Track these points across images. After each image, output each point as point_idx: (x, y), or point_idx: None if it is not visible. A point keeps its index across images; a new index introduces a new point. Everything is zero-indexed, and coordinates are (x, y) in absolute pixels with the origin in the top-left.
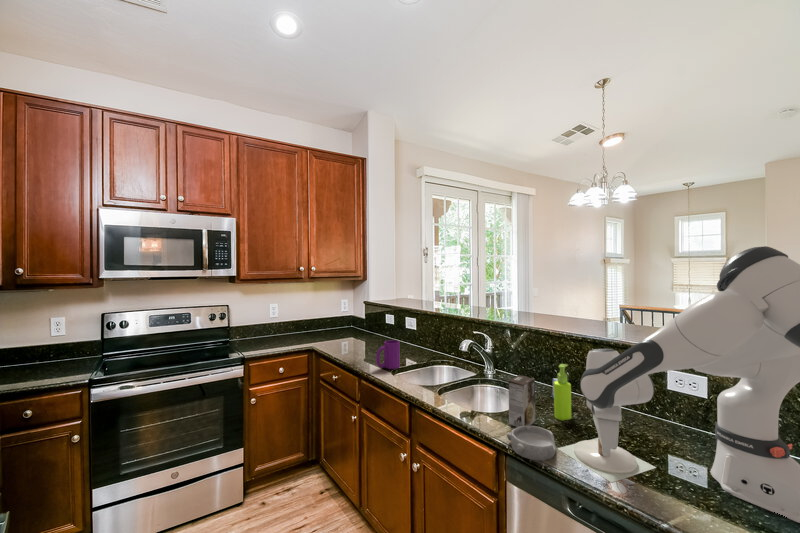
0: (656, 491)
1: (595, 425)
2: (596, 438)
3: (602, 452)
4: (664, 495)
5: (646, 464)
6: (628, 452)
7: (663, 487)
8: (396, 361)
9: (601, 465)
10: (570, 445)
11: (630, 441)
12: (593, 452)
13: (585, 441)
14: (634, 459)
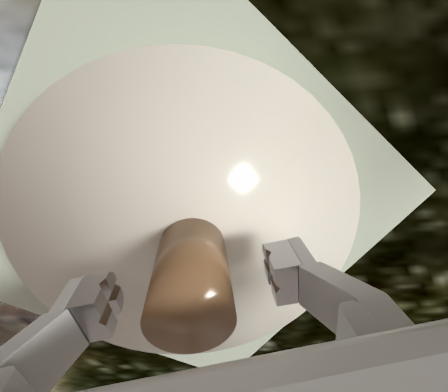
0: None
1: (336, 369)
2: (423, 182)
3: (87, 280)
4: (55, 389)
5: (233, 356)
6: (279, 326)
7: (110, 384)
8: None
9: (26, 245)
10: (244, 9)
11: (433, 299)
12: (173, 193)
13: (321, 131)
14: (221, 345)
